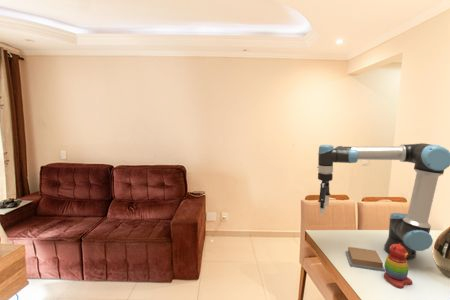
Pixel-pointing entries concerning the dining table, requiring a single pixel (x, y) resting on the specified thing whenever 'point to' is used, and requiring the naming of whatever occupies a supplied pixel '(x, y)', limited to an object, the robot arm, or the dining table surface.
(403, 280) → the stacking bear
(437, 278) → the dining table surface
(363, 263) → the board
